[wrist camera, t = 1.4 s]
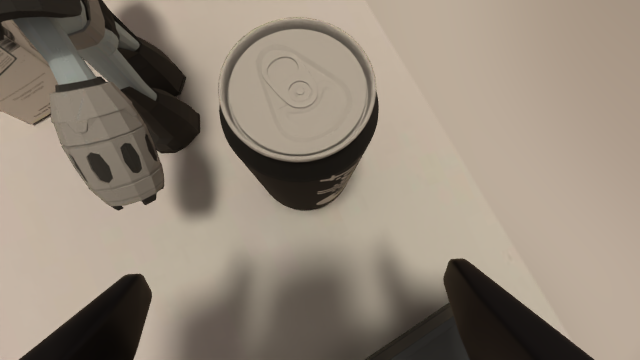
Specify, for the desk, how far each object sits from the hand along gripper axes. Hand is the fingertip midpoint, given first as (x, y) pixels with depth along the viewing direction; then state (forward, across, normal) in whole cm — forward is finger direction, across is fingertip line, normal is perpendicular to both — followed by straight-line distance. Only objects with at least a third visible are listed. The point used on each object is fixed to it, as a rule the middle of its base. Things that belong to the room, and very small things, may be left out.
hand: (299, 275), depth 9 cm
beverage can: (+14, 0, +4) cm, 14 cm away
